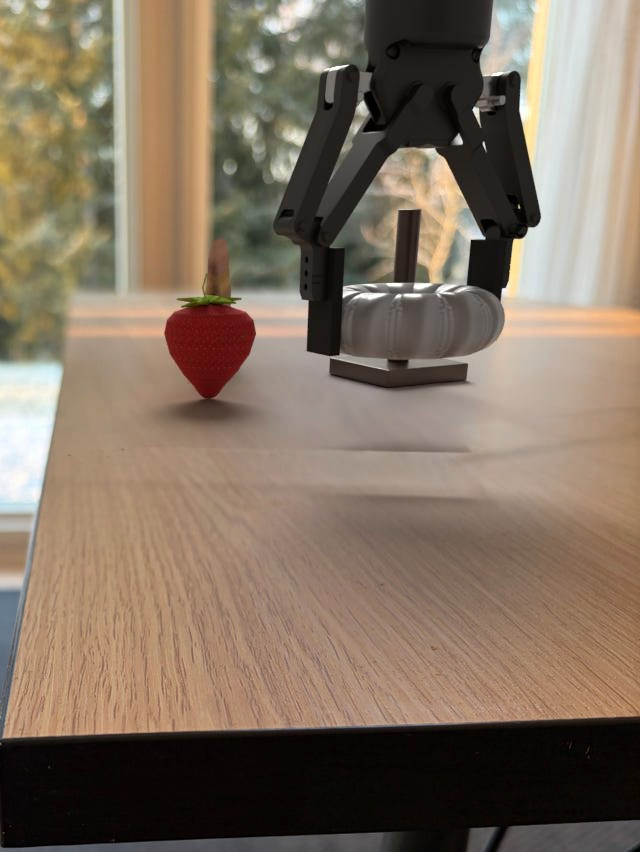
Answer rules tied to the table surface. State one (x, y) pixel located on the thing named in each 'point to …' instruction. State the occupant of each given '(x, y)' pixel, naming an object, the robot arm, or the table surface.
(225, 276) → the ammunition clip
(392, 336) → the ring
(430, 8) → the robot arm
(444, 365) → the stand
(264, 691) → the table surface
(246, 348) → the strawberry
